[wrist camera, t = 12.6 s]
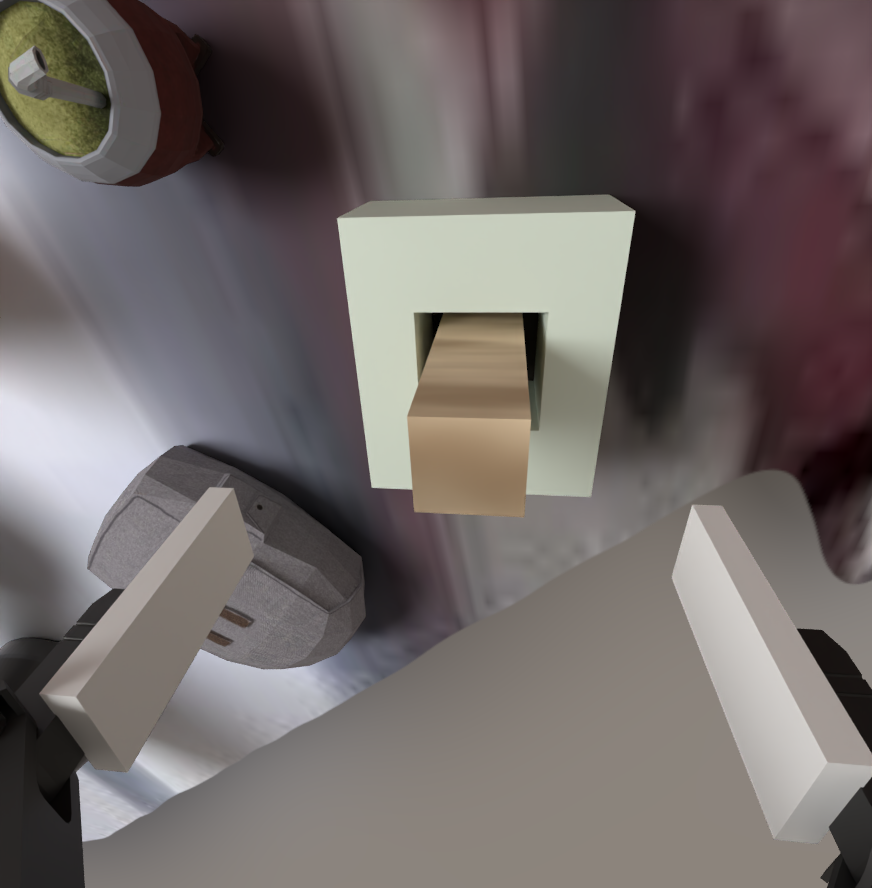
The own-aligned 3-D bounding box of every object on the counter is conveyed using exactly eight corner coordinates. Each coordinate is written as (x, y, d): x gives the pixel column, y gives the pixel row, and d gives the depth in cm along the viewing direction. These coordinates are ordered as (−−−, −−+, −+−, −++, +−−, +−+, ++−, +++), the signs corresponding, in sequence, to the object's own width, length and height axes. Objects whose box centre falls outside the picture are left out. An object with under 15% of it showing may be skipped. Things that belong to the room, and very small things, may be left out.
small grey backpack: (115, 523, 42) (316, 641, 47) (36, 603, 35) (282, 732, 40) (189, 404, 34) (415, 559, 40) (107, 475, 27) (396, 652, 33)
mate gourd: (75, 88, 25) (-364, 45, 12) (157, -60, 22) (-329, -324, 9) (197, 213, 28) (-66, 283, 15) (287, 97, 24) (47, 62, 12)
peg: (517, 364, 30) (524, 517, 18) (450, 363, 30) (414, 512, 19) (520, 297, 28) (531, 419, 16) (448, 297, 28) (406, 416, 16)
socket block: (577, 439, 32) (590, 497, 27) (392, 433, 33) (371, 487, 28) (609, 194, 25) (635, 211, 20) (370, 201, 26) (337, 217, 21)
